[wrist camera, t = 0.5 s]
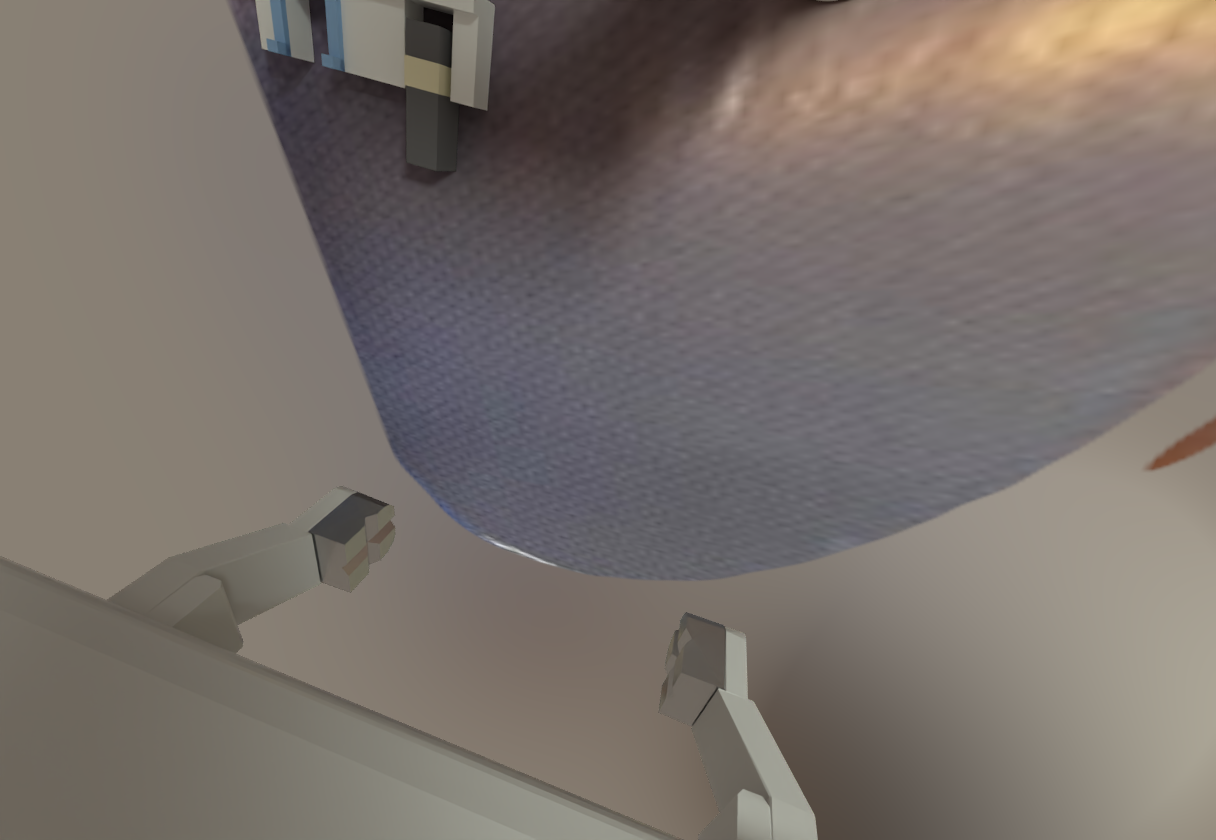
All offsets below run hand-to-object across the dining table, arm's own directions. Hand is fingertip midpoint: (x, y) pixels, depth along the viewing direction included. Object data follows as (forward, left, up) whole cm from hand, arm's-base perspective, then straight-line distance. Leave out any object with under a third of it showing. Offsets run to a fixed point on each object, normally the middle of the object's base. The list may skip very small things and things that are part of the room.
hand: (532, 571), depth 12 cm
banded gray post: (-9, -30, -45) cm, 54 cm away
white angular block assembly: (-13, -37, -45) cm, 59 cm away
